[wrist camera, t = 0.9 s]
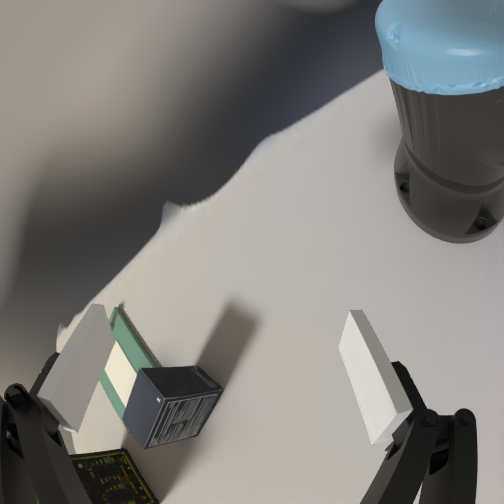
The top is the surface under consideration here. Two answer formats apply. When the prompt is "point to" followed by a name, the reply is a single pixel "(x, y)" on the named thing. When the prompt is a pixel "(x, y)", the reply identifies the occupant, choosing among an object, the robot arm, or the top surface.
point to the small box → (169, 404)
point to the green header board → (123, 363)
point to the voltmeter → (111, 478)
